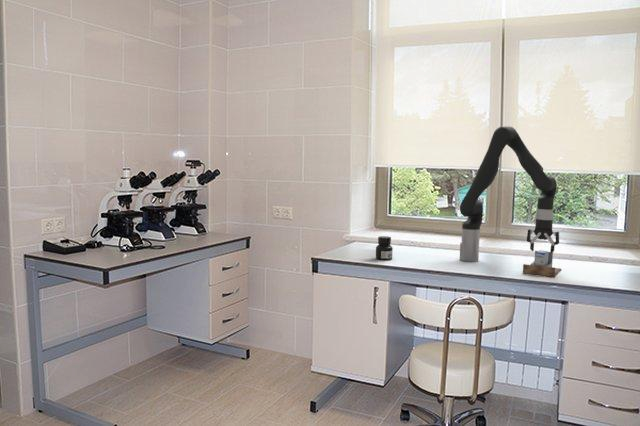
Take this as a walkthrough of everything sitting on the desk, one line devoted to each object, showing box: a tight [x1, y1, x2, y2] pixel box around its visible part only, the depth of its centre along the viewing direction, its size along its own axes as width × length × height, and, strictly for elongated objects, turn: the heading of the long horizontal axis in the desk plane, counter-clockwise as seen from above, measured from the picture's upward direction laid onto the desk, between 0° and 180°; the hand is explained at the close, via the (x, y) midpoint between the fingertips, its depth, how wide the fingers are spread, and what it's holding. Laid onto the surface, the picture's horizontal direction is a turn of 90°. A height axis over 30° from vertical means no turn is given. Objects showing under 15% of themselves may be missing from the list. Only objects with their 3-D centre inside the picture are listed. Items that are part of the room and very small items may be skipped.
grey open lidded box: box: [529, 250, 554, 267], centre depth 254 cm, size 8×12×9 cm, turn 148°
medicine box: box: [534, 249, 550, 266], centre depth 254 cm, size 8×4×9 cm, turn 146°
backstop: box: [522, 263, 562, 279], centre depth 258 cm, size 14×23×4 cm, turn 148°
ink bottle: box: [375, 235, 394, 261], centre depth 283 cm, size 10×9×12 cm
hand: (541, 251), depth 254 cm, fingers open, 8 cm apart
